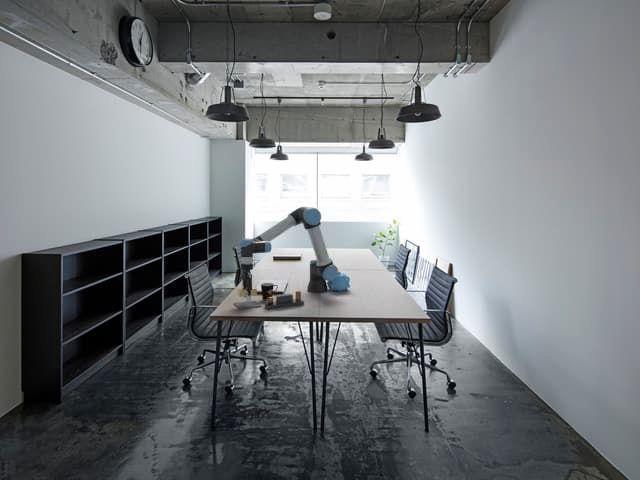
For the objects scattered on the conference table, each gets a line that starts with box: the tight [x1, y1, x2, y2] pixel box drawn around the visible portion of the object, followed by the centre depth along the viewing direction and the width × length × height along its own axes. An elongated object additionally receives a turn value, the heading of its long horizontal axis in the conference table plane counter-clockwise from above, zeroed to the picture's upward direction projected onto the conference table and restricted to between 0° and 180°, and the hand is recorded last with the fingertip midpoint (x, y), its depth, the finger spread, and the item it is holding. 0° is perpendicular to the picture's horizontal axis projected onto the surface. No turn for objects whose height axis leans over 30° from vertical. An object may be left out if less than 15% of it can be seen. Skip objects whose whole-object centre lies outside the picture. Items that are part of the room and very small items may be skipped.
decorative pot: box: [326, 271, 351, 292], centre depth 282 cm, size 16×16×14 cm
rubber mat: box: [233, 300, 262, 311], centre depth 240 cm, size 14×14×1 cm
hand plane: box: [264, 290, 305, 310], centre depth 240 cm, size 24×7×8 cm, turn 117°
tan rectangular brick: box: [236, 286, 258, 298], centre depth 239 cm, size 11×6×4 cm, turn 117°
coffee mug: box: [260, 282, 279, 301], centre depth 256 cm, size 12×9×10 cm
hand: (247, 298), depth 240 cm, fingers closed on tan rectangular brick, 6 cm apart
